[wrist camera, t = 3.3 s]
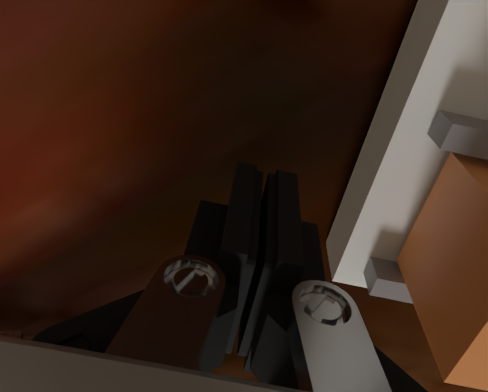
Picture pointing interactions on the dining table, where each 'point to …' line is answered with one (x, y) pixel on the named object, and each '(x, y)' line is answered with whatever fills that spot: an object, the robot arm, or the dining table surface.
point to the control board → (413, 141)
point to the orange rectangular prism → (453, 270)
